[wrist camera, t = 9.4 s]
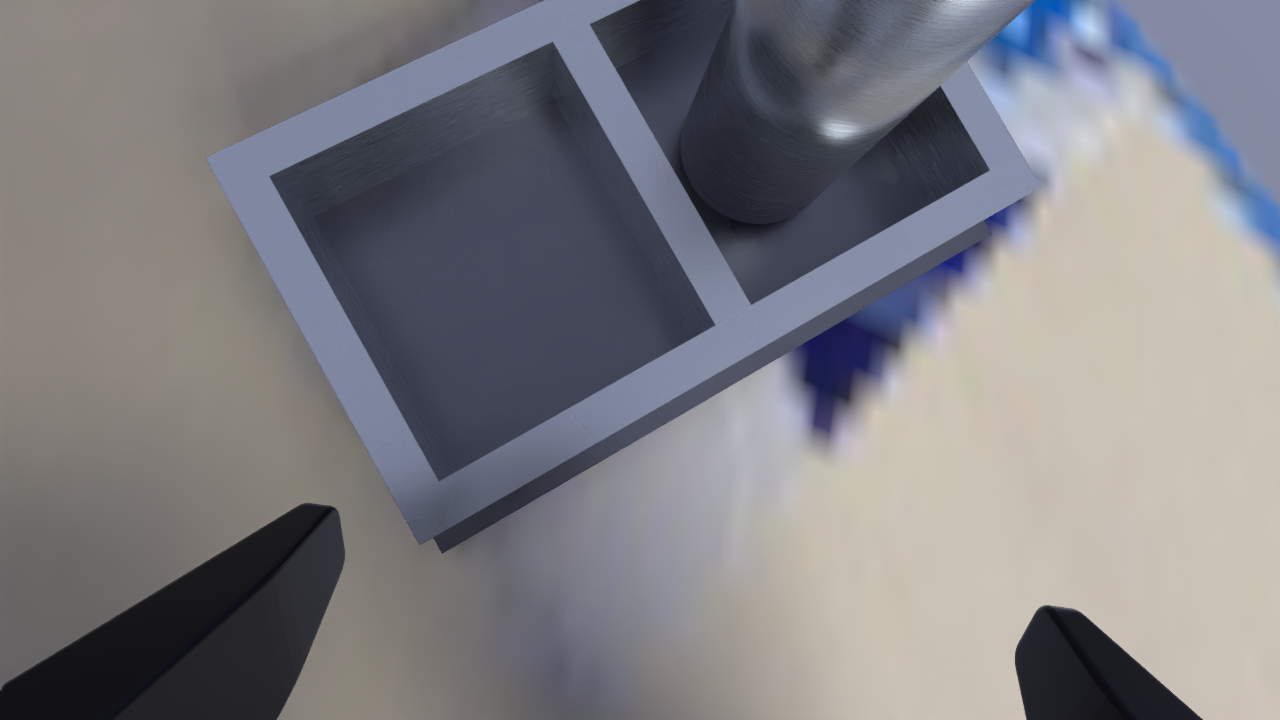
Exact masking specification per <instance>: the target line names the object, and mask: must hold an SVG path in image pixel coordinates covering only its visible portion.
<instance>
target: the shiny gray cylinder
mask: <svg viewBox="0 0 1280 720" xmlns="http://www.w3.org/2000/svg"><path fill="white" fill-rule="evenodd" d="M1034 1H1035V0H734V2H733V5H732V7H731V9H730V12H729V14H728V17H727V19H726V22H725V24H724V26H723V29H722V31H721V34H720V36H719V39H718V41H717V44H716V46H715V48H714V51H713V53H712V56H711V58H710V61H709V63H708V65H707V68H706V70H705V73H704V75H703V78H702V80H701V83H700V85H699V87H698V90H697V92H696V95H695V97H694V100H693V102H692V105H691V107H690V109H689V112H688V114H687V117H686V119H685V122H684V125H683V129H682V133H681V142H680V145H681V157H682V163H683V166H684V169H685V172H686V175H687V177H688V179H689V181H690V183H691V185H692V186H693V188H694V189H695V191H696V192H697V193H698V194H699V196H700V197H701V198H702V199H703V200H704V201H705V202H706V203H707V204H708V205H709V206H711V207H712V208H713V209H715V210H716V211H718V212H719V213H721V214H723V215H725V216H727V217H729V218H731V219H734V220H737V221H741V222H745V223H752V224H767V223H774V222H778V221H782V220H785V219H787V218H790V217H792V216H794V215H795V214H797V213H799V212H800V211H802V210H803V209H804V208H805V207H807V206H808V205H809V204H810V203H811V202H812V201H813V200H814V199H816V198H817V197H818V196H819V195H820V194H821V193H822V192H823V191H824V190H826V189H827V188H828V187H829V186H830V185H831V184H832V183H833V182H834V181H835V180H837V179H838V178H839V177H840V176H841V175H842V174H843V173H844V172H845V171H847V170H848V169H849V168H850V167H851V166H852V165H853V164H854V163H855V162H857V161H858V160H859V159H860V158H861V157H862V156H863V155H864V154H865V153H866V152H868V151H869V150H870V149H871V148H872V147H873V146H874V145H875V144H876V143H878V142H879V141H880V140H881V139H882V138H883V137H884V136H885V135H886V134H887V133H889V132H890V131H891V130H892V129H893V128H894V127H895V126H896V125H897V124H899V123H900V122H901V121H902V120H903V119H904V118H905V117H906V116H907V115H909V114H910V113H911V112H912V111H913V110H914V109H915V108H916V107H917V106H918V105H920V104H921V103H922V102H923V101H924V100H925V99H926V98H927V97H928V96H930V95H931V94H932V93H933V92H934V91H935V90H936V89H937V88H938V87H940V86H941V85H942V84H943V83H944V82H945V81H946V80H947V79H948V78H949V77H951V76H952V75H953V74H954V73H955V72H956V71H957V70H958V69H959V68H961V67H962V66H963V65H964V64H965V63H966V62H967V61H968V60H969V59H970V58H972V57H973V56H974V55H975V54H976V53H977V52H978V51H979V50H980V49H982V48H983V47H984V46H985V45H986V44H987V43H988V42H989V41H990V40H992V39H993V38H994V37H995V36H996V35H997V34H998V33H999V32H1000V31H1001V30H1003V29H1004V28H1005V27H1006V26H1007V25H1008V24H1009V23H1010V22H1011V21H1013V20H1014V19H1015V18H1016V17H1017V16H1018V15H1019V14H1020V13H1021V12H1023V11H1024V10H1025V9H1026V8H1027V7H1028V6H1029V5H1030V4H1031V3H1032V2H1034Z"/></svg>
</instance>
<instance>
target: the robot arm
mask: <svg viewBox="0 0 1280 720" xmlns="http://www.w3.org/2000/svg"><path fill="white" fill-rule="evenodd" d="M344 560H345V549H344V542H343V536H342V529H341V523H340V516H339V513H338V511H337V509H336V508H334V507H332V506H327V505H320V504H312V503H304V504H301V505H299V506H297V507H295V508H294V509H292V510H290V511H289V512H287V513H286V514H284V515H282V516H281V517H279V518H277V519H276V520H274V521H272V522H271V523H269V524H267V525H266V526H264V527H262V528H261V529H259V530H258V531H256V532H254V533H253V534H251V535H249V536H248V537H246V538H244V539H243V540H241V541H239V542H238V543H236V544H234V545H233V546H231V547H229V548H228V549H226V550H225V551H223V552H221V553H220V554H218V555H216V556H215V557H213V558H211V559H210V560H208V561H206V562H205V563H203V564H201V565H200V566H198V567H196V568H195V569H193V570H192V571H190V572H188V573H187V574H185V575H183V576H182V577H180V578H178V579H177V580H175V581H173V582H172V583H170V584H168V585H167V586H165V587H163V588H162V589H160V590H159V591H157V592H155V593H154V594H152V595H150V596H149V597H147V598H145V599H144V600H142V601H140V602H139V603H137V604H135V605H134V606H132V607H130V608H129V609H127V610H126V611H124V612H122V613H121V614H119V615H117V616H116V617H114V618H112V619H111V620H109V621H107V622H106V623H104V624H102V625H101V626H99V627H97V628H96V629H94V630H93V631H91V632H89V633H88V634H86V635H84V636H83V637H81V638H79V639H78V640H76V641H74V642H73V643H71V644H69V645H68V646H66V647H65V648H63V649H61V650H60V651H58V652H56V653H55V654H53V655H51V656H50V657H48V658H46V659H45V660H43V661H41V662H40V663H38V664H36V665H35V666H33V667H32V668H30V669H28V670H27V671H25V672H23V673H22V674H20V675H18V676H17V677H15V678H13V679H12V680H10V681H8V682H7V683H5V684H4V685H3V687H2V689H1V691H0V720H277V718H278V716H279V714H280V713H281V711H282V709H283V707H284V705H285V703H286V701H287V699H288V697H289V695H290V693H291V691H292V689H293V687H294V685H295V683H296V681H297V679H298V677H299V675H300V672H301V670H302V668H303V665H304V663H305V661H306V658H307V656H308V653H309V651H310V648H311V646H312V643H313V641H314V638H315V636H316V633H317V631H318V629H319V626H320V624H321V621H322V619H323V616H324V614H325V611H326V609H327V606H328V604H329V601H330V599H331V596H332V594H333V591H334V589H335V586H336V584H337V582H338V579H339V577H340V574H341V572H342V569H343V565H344ZM1015 666H1016V672H1017V676H1018V681H1019V686H1020V691H1021V696H1022V700H1023V705H1024V710H1025V715H1026V719H1027V720H1203V719H1201V718H1200V717H1199V716H1198V715H1197V714H1196V713H1195V712H1194V711H1192V710H1191V709H1190V708H1189V707H1188V706H1187V705H1186V704H1184V703H1183V702H1182V701H1181V700H1180V699H1179V698H1178V697H1177V696H1175V695H1174V694H1173V693H1172V692H1171V691H1170V690H1169V689H1167V688H1166V687H1165V686H1164V685H1163V684H1162V683H1161V682H1160V681H1158V680H1157V679H1156V678H1155V677H1154V676H1153V675H1152V674H1150V673H1149V672H1148V671H1147V670H1146V669H1145V668H1144V667H1143V666H1141V665H1140V664H1139V663H1138V662H1137V661H1136V660H1135V659H1133V658H1132V657H1131V656H1130V655H1129V654H1128V653H1127V652H1125V651H1124V650H1123V649H1122V648H1121V647H1120V646H1119V645H1118V644H1116V643H1115V642H1114V641H1113V640H1112V639H1111V638H1110V637H1108V636H1107V635H1106V634H1105V633H1104V632H1103V631H1102V630H1101V629H1099V628H1098V627H1097V626H1096V625H1095V624H1094V623H1093V622H1091V621H1090V620H1089V619H1088V618H1087V617H1086V616H1085V615H1083V614H1082V613H1081V612H1079V611H1077V610H1075V609H1071V608H1064V607H1057V606H1050V605H1045V606H1042V607H1040V608H1039V609H1038V610H1037V611H1036V613H1035V614H1034V616H1033V618H1032V620H1031V622H1030V623H1029V625H1028V627H1027V629H1026V630H1025V632H1024V634H1023V636H1022V638H1021V639H1020V641H1019V643H1018V645H1017V648H1016V652H1015Z"/></svg>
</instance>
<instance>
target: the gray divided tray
mask: <svg viewBox="0 0 1280 720" xmlns="http://www.w3.org/2000/svg"><path fill="white" fill-rule="evenodd" d="M733 2H734V0H544V1H541V2H539V3H537V4H535V5H533V6H531V7H528V8H526V9H524V10H522V11H520V12H518V13H516V14H513V15H511V16H509V17H507V18H505V19H503V20H500V21H498V22H496V23H494V24H492V25H490V26H488V27H485V28H483V29H481V30H479V31H477V32H475V33H472V34H470V35H468V36H466V37H464V38H462V39H460V40H457V41H455V42H453V43H451V44H449V45H447V46H444V47H442V48H440V49H438V50H436V51H434V52H431V53H429V54H427V55H425V56H423V57H421V58H419V59H416V60H414V61H412V62H410V63H408V64H406V65H403V66H401V67H399V68H397V69H395V70H393V71H391V72H388V73H386V74H384V75H382V76H380V77H378V78H375V79H373V80H371V81H369V82H367V83H365V84H363V85H360V86H358V87H356V88H354V89H352V90H350V91H347V92H345V93H343V94H341V95H339V96H337V97H334V98H332V99H330V100H328V101H326V102H324V103H322V104H319V105H317V106H315V107H313V108H311V109H309V110H306V111H304V112H302V113H300V114H298V115H296V116H294V117H291V118H289V119H287V120H285V121H283V122H281V123H278V124H276V125H274V126H272V127H270V128H268V129H266V130H263V131H261V132H259V133H257V134H255V135H253V136H250V137H248V138H246V139H244V140H242V141H240V142H238V143H235V144H233V145H231V146H229V147H227V148H225V149H222V150H220V151H218V152H216V153H214V154H212V155H209V156H207V157H205V158H206V160H207V162H208V164H209V165H210V167H211V169H212V171H213V173H214V175H215V176H216V178H217V180H218V182H219V184H220V185H221V187H222V189H223V191H224V193H225V194H226V196H227V198H228V200H229V202H230V203H231V205H232V207H233V209H234V211H235V212H236V214H237V216H238V218H239V220H240V221H241V223H242V225H243V227H244V229H245V231H246V232H247V234H248V236H249V238H250V240H251V241H252V243H253V245H254V247H255V249H256V250H257V252H258V254H259V256H260V258H261V259H262V261H263V263H264V265H265V267H266V268H267V270H268V272H269V274H270V276H271V278H272V279H273V281H274V283H275V285H276V287H277V288H278V290H279V292H280V294H281V296H282V297H283V299H284V301H285V303H286V305H287V306H288V308H289V310H290V312H291V314H292V315H293V317H294V319H295V321H296V323H297V324H298V326H299V328H300V330H301V332H302V334H303V335H304V337H305V339H306V341H307V343H308V344H309V346H310V348H311V350H312V352H313V353H314V355H315V357H316V359H317V361H318V362H319V364H320V366H321V368H322V370H323V371H324V373H325V375H326V377H327V379H328V381H329V382H330V384H331V386H332V388H333V390H334V391H335V393H336V395H337V397H338V399H339V400H340V402H341V404H342V406H343V408H344V409H345V411H346V413H347V415H348V417H349V418H350V420H351V422H352V424H353V426H354V428H355V429H356V431H357V433H358V435H359V437H360V438H361V440H362V442H363V444H364V446H365V447H366V449H367V451H368V453H369V455H370V456H371V458H372V460H373V462H374V464H375V465H376V467H377V469H378V471H379V473H380V474H381V476H382V478H383V480H384V482H385V484H386V485H387V487H388V489H389V491H390V493H391V494H392V496H393V498H394V500H395V502H396V503H397V505H398V507H399V509H400V511H401V512H402V514H403V516H404V518H405V520H406V521H407V523H408V525H409V527H410V529H411V531H412V532H413V534H414V536H415V538H416V540H417V541H418V543H419V545H421V544H423V543H424V542H426V541H428V540H430V539H431V538H434V540H435V542H436V543H437V545H438V547H439V549H440V551H441V552H442V553H444V552H446V551H448V550H449V549H451V548H453V547H454V546H456V545H458V544H460V543H461V542H463V541H465V540H466V539H468V538H470V537H472V536H473V535H475V534H477V533H478V532H480V531H482V530H484V529H485V528H487V527H489V526H490V525H492V524H494V523H496V522H497V521H499V520H501V519H503V518H504V517H506V516H508V515H509V514H511V513H513V512H515V511H516V510H518V509H520V508H521V507H523V506H525V505H527V504H528V503H530V502H532V501H533V500H535V499H537V498H539V497H540V496H542V495H544V494H545V493H547V492H549V491H551V490H552V489H554V488H556V487H557V486H559V485H561V484H563V483H564V482H566V481H568V480H570V479H571V478H573V477H575V476H576V475H578V474H580V473H582V472H583V471H585V470H587V469H588V468H590V467H592V466H594V465H595V464H597V463H599V462H600V461H602V460H604V459H606V458H607V457H609V456H611V455H612V454H614V453H616V452H618V451H619V450H621V449H623V448H625V447H626V446H628V445H630V444H631V443H633V442H635V441H637V440H638V439H640V438H642V437H643V436H645V435H647V434H649V433H650V432H652V431H654V430H655V429H657V428H659V427H661V426H662V425H664V424H666V423H667V422H669V421H671V420H673V419H674V418H676V417H678V416H680V415H681V414H683V413H685V412H686V411H688V410H690V409H692V408H693V407H695V406H697V405H698V404H700V403H702V402H704V401H705V400H707V399H709V398H710V397H712V396H714V395H716V394H717V393H719V392H721V391H722V390H724V389H726V388H728V387H729V386H731V385H733V384H734V383H736V382H738V381H740V380H741V379H743V378H745V377H747V376H748V375H750V374H752V373H753V372H755V371H757V370H759V369H760V368H762V367H764V366H765V365H767V364H769V363H771V362H772V361H774V360H776V359H777V358H779V357H781V356H783V355H784V354H786V353H788V352H789V351H791V350H793V349H795V348H796V347H798V346H800V345H802V344H803V343H805V342H807V341H808V340H810V339H812V338H814V337H815V336H817V335H819V334H820V333H822V332H824V331H826V330H827V329H829V328H831V327H832V326H834V325H836V324H838V323H839V322H841V321H843V320H844V319H846V318H848V317H850V316H851V315H853V314H855V313H857V312H858V311H860V310H862V309H863V308H865V307H867V306H869V305H870V304H872V303H874V302H875V301H877V300H879V299H881V298H882V297H884V296H886V295H887V294H889V293H891V292H893V291H894V290H896V289H898V288H899V287H901V286H903V285H905V284H906V283H908V282H910V281H911V280H913V279H915V278H917V277H918V276H920V275H922V274H924V273H925V272H927V271H929V270H930V269H932V268H934V267H936V266H937V265H939V264H941V263H942V262H944V261H946V260H948V259H949V258H951V257H953V256H954V255H956V254H958V253H960V252H961V251H963V250H965V249H966V248H968V247H970V246H972V245H973V244H975V243H977V242H979V241H980V240H982V239H984V238H985V237H987V236H989V235H991V232H990V230H989V229H988V227H987V225H986V224H985V222H984V219H986V218H988V217H989V216H991V215H993V214H995V213H996V212H998V211H1000V210H1002V209H1003V208H1005V207H1007V206H1009V205H1010V204H1012V203H1014V202H1015V201H1017V200H1019V199H1021V198H1022V197H1024V196H1026V195H1028V194H1029V193H1031V192H1033V191H1035V190H1036V189H1038V188H1040V187H1041V185H1040V184H1039V182H1038V180H1037V179H1036V177H1035V175H1034V173H1033V172H1032V170H1031V168H1030V167H1029V165H1028V163H1027V162H1026V160H1025V158H1024V157H1023V155H1022V153H1021V152H1020V150H1019V148H1018V146H1017V145H1016V143H1015V141H1014V140H1013V138H1012V136H1011V135H1010V133H1009V131H1008V130H1007V128H1006V126H1005V125H1004V123H1003V121H1002V119H1001V118H1000V116H999V114H998V113H997V111H996V109H995V108H994V106H993V104H992V103H991V101H990V99H989V98H988V96H987V94H986V92H985V91H984V89H983V87H982V86H981V84H980V82H979V81H978V79H977V77H976V76H975V74H974V72H973V71H972V69H971V67H970V65H969V64H968V62H966V63H965V64H964V65H963V66H962V67H961V68H959V69H958V70H957V71H956V72H955V73H954V74H953V75H952V76H951V77H949V78H948V79H947V80H946V81H945V82H944V83H943V84H942V85H941V86H940V87H938V88H937V89H936V90H935V91H934V92H933V93H932V94H931V95H930V96H928V97H927V98H926V99H925V100H924V101H923V102H922V103H921V104H920V105H918V106H917V107H916V108H915V109H914V110H913V111H912V112H911V113H910V114H909V115H907V116H906V117H905V118H904V119H903V120H902V121H901V122H900V123H899V124H897V125H896V126H895V127H894V128H893V129H892V130H891V131H890V132H889V133H887V134H886V135H885V136H884V137H883V138H882V139H881V140H880V141H879V142H878V143H876V144H875V145H874V146H873V147H872V148H871V149H870V150H869V151H868V152H866V153H865V154H864V155H863V156H862V157H861V158H860V159H859V160H858V161H857V162H855V163H854V164H853V165H852V166H851V167H850V168H849V169H848V170H847V171H845V172H844V173H843V174H842V175H841V176H840V177H839V178H838V179H837V180H835V181H834V182H833V183H832V184H831V185H830V186H829V187H828V188H827V189H826V190H824V191H823V192H822V193H821V194H820V195H819V196H818V197H817V198H816V199H814V200H813V201H812V202H811V203H810V204H809V205H808V206H807V207H805V208H804V209H803V210H802V211H800V212H799V213H797V214H795V215H794V216H792V217H790V218H787V219H785V220H782V221H778V222H774V223H767V224H752V223H745V222H741V221H737V220H734V219H731V218H729V217H727V216H725V215H723V214H721V213H719V212H718V211H716V210H715V209H713V208H712V207H711V206H709V205H708V204H707V203H706V202H705V201H704V200H703V199H702V198H701V197H700V196H699V194H698V193H697V192H696V191H695V189H694V188H693V186H692V185H691V183H690V181H689V179H688V177H687V175H686V172H685V169H684V166H683V163H682V157H681V145H680V142H681V133H682V129H683V125H684V122H685V119H686V117H687V114H688V112H689V109H690V107H691V105H692V102H693V100H694V97H695V95H696V92H697V90H698V87H699V85H700V83H701V80H702V78H703V75H704V73H705V70H706V68H707V65H708V63H709V61H710V58H711V56H712V53H713V51H714V48H715V46H716V44H717V41H718V39H719V36H720V34H721V31H722V29H723V26H724V24H725V22H726V19H727V17H728V14H729V12H730V9H731V7H732V5H733Z"/></svg>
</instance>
